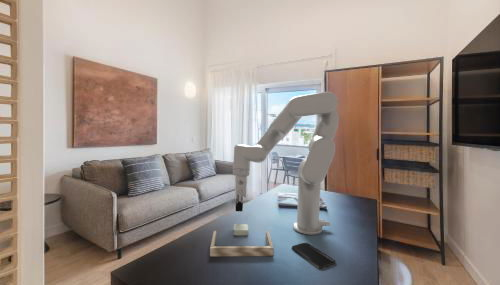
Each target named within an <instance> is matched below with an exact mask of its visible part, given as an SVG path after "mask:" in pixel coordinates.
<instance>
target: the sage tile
mask: <svg viewBox="0 0 500 285" xmlns="http://www.w3.org/2000/svg"><path fill="white" fill-rule="evenodd" d="M233 236H249V223H248V224H247V223H243V224H242V223H234V224H233Z"/></svg>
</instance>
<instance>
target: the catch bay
mask: <svg viewBox="0 0 500 285" xmlns="http://www.w3.org/2000/svg"><path fill="white" fill-rule="evenodd" d="M212 233H213V234H212V237H211V238H212V239H211V243H210V248H209V257H273V256H274V244H273V242H272V239H271V235H270V231H269V230H265V241H266V244H267V245H266V246H265V245H262V246H261V245H259V246H258V245H257V246H254V245H252V246H251V245H250V246H249V245H246V246H241V245H238V246H236V245H235V246H228V245H227V246H225V245H224V246H221V245H220V246H216V241H217V230H213V232H212Z"/></svg>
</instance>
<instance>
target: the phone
mask: <svg viewBox="0 0 500 285" xmlns="http://www.w3.org/2000/svg"><path fill="white" fill-rule="evenodd" d="M291 250H292V251H294V252H295V253H296V254H298V255H299V256H300V257H301V258H302V259H305V261H307V262H308V263H309V264H311V265H312V266H313V267H315V268H316V269H318V270H324V269H328V268H330V267H333V266H335V265H337V263H336V260H335V259H333V258H332V257H331V256H329V255H327V254H326V253H324V252H322V251H321V250H319V249H318V248H316V247H315V246H313V245H312V244H310V243H309V242H302V243H299V244H294V245H292V246H291Z"/></svg>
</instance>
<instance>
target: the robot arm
mask: <svg viewBox="0 0 500 285" xmlns="http://www.w3.org/2000/svg"><path fill="white" fill-rule="evenodd" d="M338 101H339V100H338V98H337V95H335V94H334V93H333V92H332V91H331V92H330V91H322V92H321V91H320V92H316V93H310V94H304V95H297V96H294V97H292V98H290V99H289V100H288V103H286V105H285V106H284V107H283V109H282V110H281V111H280V112H279V113H278V115H277V116H276V117H275V118H274V120H273V121H272V122H271V124H270V125H269V126H268V128H267V130H266V132H265V133H264V134H263V136H262V137H261V138H260V139H259V140H258V142H257V143H256V144H255V145H253V146H251V145H248V144H243V143H242V144H241V143H239V144H236V145H235V146H234V147H233V148H234V149H233V165H232V175H233V176H234V178H235V179H234V194H235V198H236V201H235V212H240V213H241V212H243V208H244V207H243V206H244V200H243V199H247V190H248V188H247V186H248V185H247V184H248V177H249V176H250V168H251V167H250V166H251V162H252V163H258V164H260V163H264V161H266V159H267V157H268V155H269V154H270V152H272V150H273V149H274V148H275V146H277V144H279V142H281V141H282V140H284V138H286V136H288V134H289V133H290V132H291V131H292V129H293V128H294V127H295V126H296V125H297V123H298V122H299V121H300V120H301V118H302V117H310V116H317V120H318V121H317V124H316V127H315V129H314V132H313V135H312V137H311V138H310V141H309V144H308V151H309V152H308V155H307V156H306V158H305V159H303V160H302V161H301V162H300V163H299V166H298V169H297V175H298V178H297V179H298V181H297V182H298V184H297V185H298V187H297V188H298V189H297V209H296V210H297V215H296V216H297V217H296V221H295V222H293V225H292V226H293V229H294V231H295V232H298V233H301V234H304V235H309V236H313V235H314V236H315V235H319V234H321V233H322V232H323V227H324V226H325V227H330V225H331V224H330V221H326V220H325V219H320V208H321V207H320V205H321V204H320V202H321V183H323V181H324V180H325V178H326V176H327V173H328V171H329V169H330V166H331V164H332V162H333V160H334V157H335V154H336V145H335V142H334V139H335V136H336V133H337V130H338V127H339V119H340V118H339V114H338V111H337V109H336V108H337V107H338V103H339V102H338Z"/></svg>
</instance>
